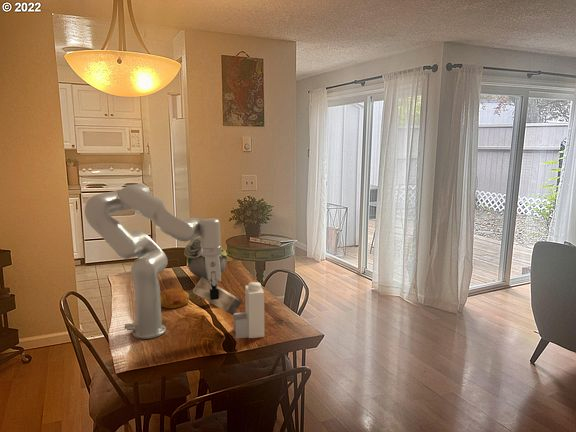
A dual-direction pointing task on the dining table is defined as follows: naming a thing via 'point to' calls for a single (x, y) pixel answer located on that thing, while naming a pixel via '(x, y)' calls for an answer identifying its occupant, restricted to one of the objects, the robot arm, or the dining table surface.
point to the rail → (225, 298)
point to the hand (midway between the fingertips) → (214, 297)
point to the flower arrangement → (200, 258)
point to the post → (251, 313)
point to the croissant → (174, 298)
